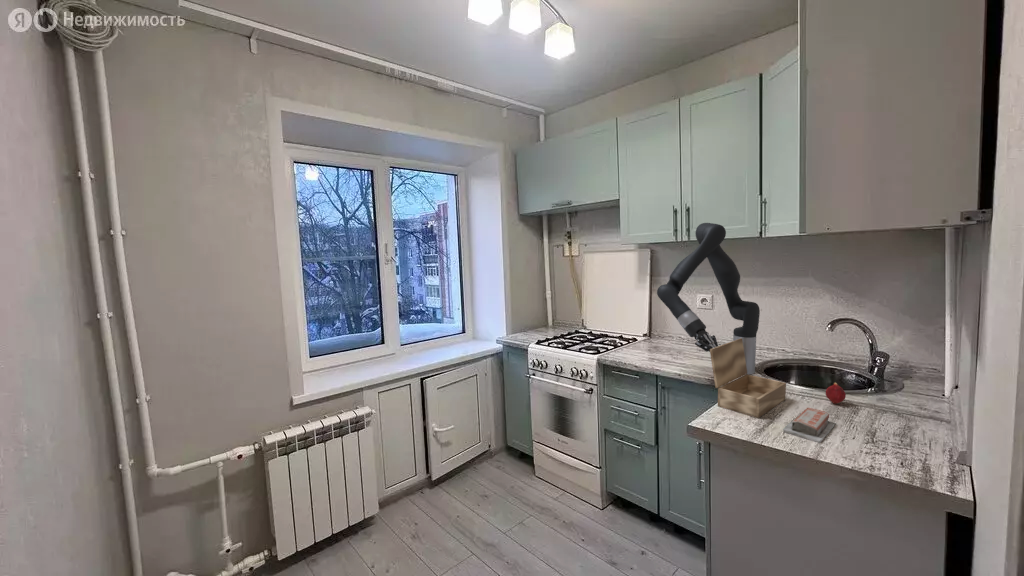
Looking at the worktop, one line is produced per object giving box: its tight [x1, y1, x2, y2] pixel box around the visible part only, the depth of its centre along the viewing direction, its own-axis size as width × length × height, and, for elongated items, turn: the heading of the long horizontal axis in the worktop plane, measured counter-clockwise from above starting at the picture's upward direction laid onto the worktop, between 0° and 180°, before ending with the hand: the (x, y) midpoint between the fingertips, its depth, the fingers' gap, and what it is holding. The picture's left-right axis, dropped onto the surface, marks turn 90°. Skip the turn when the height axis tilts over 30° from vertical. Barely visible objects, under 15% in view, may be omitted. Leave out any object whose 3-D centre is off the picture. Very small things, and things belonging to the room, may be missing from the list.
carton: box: [717, 374, 787, 419], centre depth 152 cm, size 14×24×7 cm, turn 127°
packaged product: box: [782, 407, 837, 444], centre depth 131 cm, size 18×5×10 cm
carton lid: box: [709, 338, 747, 389], centre depth 158 cm, size 14×25×1 cm
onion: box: [825, 382, 847, 405], centre depth 150 cm, size 6×6×8 cm
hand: (720, 358), depth 161 cm, fingers closed
